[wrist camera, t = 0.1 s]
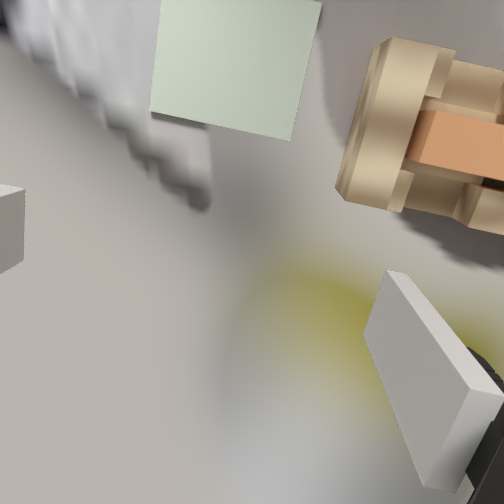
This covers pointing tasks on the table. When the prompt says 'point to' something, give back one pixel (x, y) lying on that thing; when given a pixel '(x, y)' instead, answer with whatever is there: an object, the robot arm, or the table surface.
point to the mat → (234, 62)
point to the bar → (458, 143)
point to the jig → (401, 126)
